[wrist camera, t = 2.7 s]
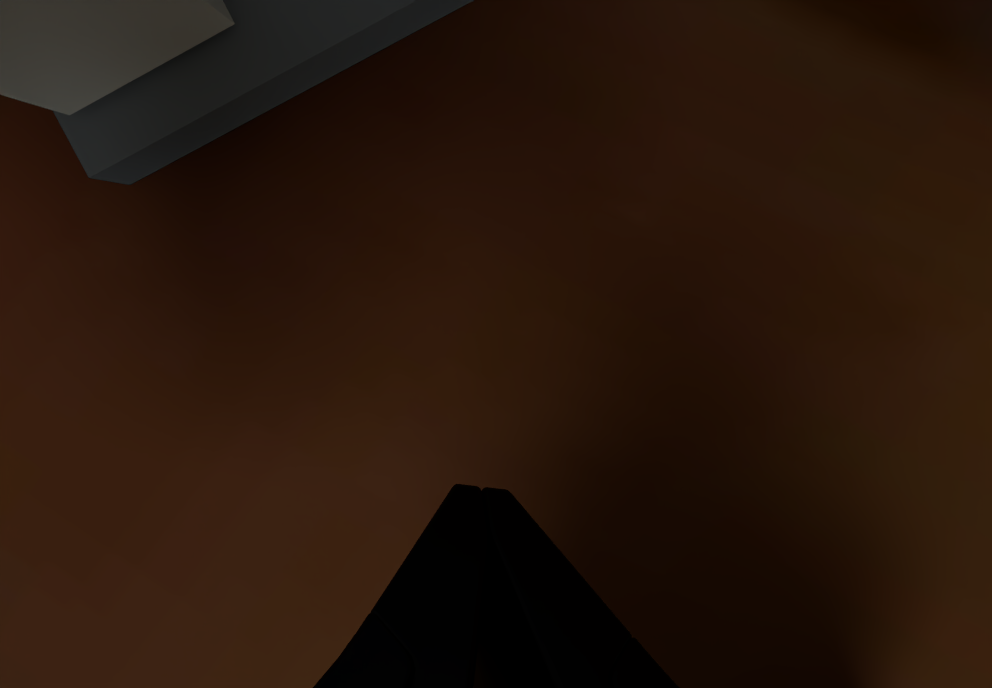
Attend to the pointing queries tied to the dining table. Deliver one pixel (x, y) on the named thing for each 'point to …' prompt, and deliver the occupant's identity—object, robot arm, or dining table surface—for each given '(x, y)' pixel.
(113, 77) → the button
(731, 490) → the dining table surface
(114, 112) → the switch panel
